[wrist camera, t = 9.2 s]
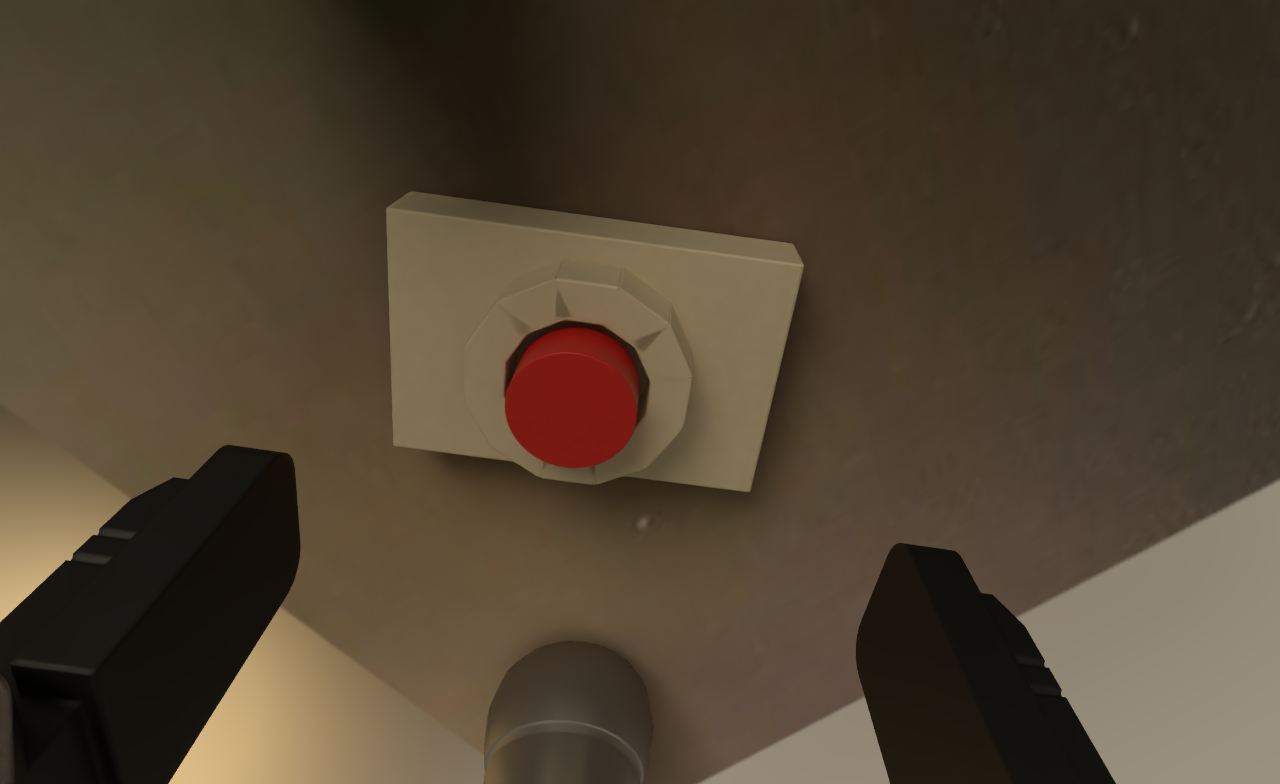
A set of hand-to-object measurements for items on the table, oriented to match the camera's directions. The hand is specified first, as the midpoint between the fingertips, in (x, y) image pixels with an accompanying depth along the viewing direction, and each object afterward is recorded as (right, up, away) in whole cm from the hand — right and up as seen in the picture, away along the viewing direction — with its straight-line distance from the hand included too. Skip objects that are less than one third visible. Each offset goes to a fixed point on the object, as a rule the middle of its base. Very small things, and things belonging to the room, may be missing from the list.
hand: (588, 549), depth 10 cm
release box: (-1, +4, +15) cm, 15 cm away
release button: (-1, +2, +12) cm, 12 cm away
